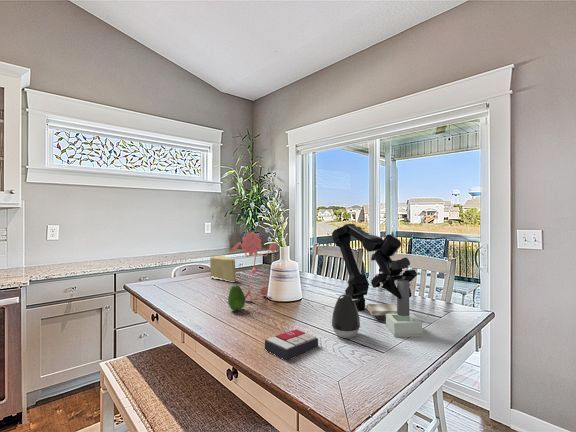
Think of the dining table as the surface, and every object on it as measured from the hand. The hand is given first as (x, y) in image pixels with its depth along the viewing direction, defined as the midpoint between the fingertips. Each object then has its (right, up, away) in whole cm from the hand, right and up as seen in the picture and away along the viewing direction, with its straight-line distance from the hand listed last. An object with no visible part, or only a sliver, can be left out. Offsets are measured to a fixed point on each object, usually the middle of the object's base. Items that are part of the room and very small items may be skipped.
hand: (405, 297), depth 119 cm
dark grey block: (0, -7, +2) cm, 7 cm away
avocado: (-67, -14, +29) cm, 74 cm away
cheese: (-84, -12, +90) cm, 124 cm away
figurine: (-62, -13, +49) cm, 80 cm away
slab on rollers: (-2, -12, +17) cm, 21 cm away
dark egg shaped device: (-22, -14, -1) cm, 26 cm away
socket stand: (0, -13, +2) cm, 13 cm away
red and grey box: (-42, -15, -10) cm, 46 cm away
